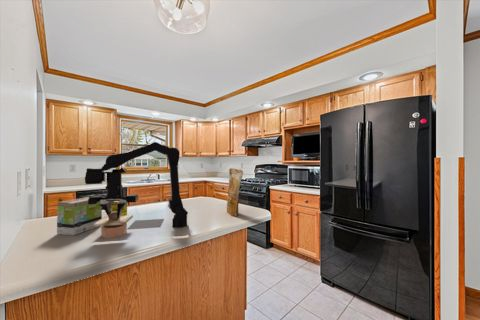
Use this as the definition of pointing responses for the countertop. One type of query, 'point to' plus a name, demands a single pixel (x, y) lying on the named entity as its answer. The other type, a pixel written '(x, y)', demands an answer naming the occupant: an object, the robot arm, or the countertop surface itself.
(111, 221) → the lid
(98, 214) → the tea box
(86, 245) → the countertop surface
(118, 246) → the countertop surface
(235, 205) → the pancake mix bag
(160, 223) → the mat
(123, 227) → the bowl
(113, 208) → the supplement box
